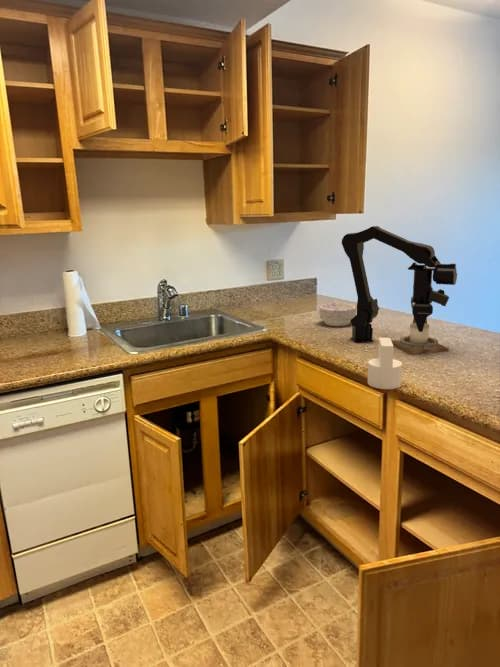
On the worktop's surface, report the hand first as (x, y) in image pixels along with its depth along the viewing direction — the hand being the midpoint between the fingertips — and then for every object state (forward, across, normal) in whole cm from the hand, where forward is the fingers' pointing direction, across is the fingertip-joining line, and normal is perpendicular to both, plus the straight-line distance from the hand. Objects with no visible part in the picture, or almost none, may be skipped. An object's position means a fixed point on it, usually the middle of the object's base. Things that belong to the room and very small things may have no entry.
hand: (419, 328), depth 163 cm
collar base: (+7, 0, 0) cm, 7 cm away
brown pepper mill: (+7, +30, -2) cm, 31 cm away
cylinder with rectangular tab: (+7, -39, +11) cm, 41 cm away
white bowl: (+7, +31, +32) cm, 45 cm away
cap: (+6, 0, 0) cm, 6 cm away
